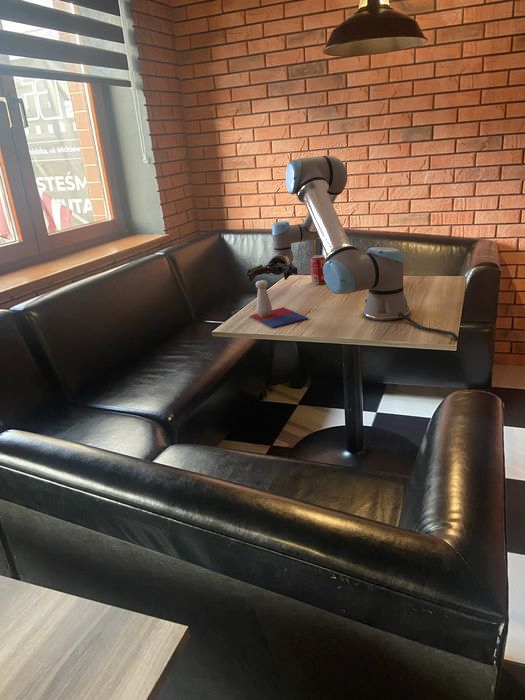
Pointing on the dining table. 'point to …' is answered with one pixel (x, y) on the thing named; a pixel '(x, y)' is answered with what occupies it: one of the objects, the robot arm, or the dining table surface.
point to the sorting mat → (280, 317)
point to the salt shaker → (263, 299)
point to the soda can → (317, 269)
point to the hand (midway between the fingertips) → (267, 277)
